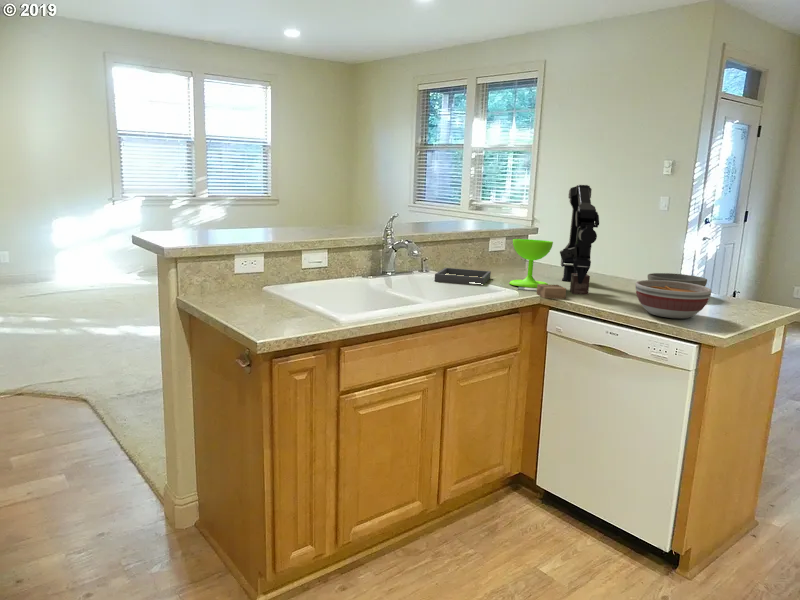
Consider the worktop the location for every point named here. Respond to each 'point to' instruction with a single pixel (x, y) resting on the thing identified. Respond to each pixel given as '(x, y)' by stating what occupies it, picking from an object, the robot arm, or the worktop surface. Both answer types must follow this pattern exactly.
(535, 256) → the wineglass
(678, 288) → the bowl
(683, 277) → the bowl
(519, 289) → the gray flat panel
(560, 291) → the base block
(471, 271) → the glass rack frame
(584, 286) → the box
